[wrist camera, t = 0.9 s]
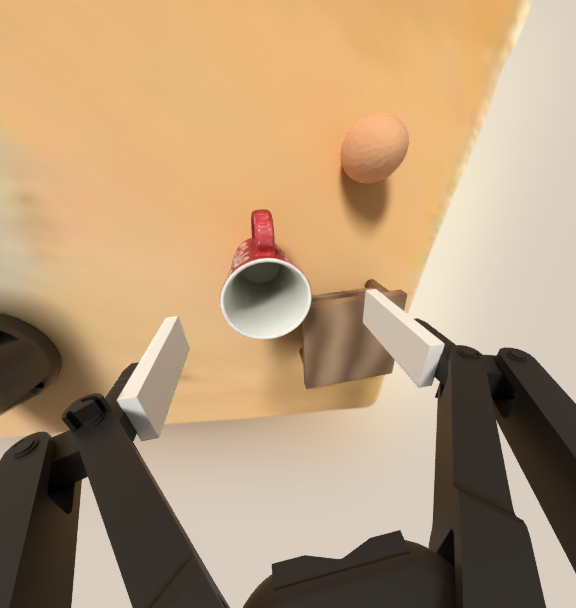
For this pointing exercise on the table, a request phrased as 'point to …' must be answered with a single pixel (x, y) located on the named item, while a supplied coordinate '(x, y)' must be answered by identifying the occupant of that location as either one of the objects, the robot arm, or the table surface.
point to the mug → (264, 286)
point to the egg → (374, 148)
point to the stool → (343, 338)
